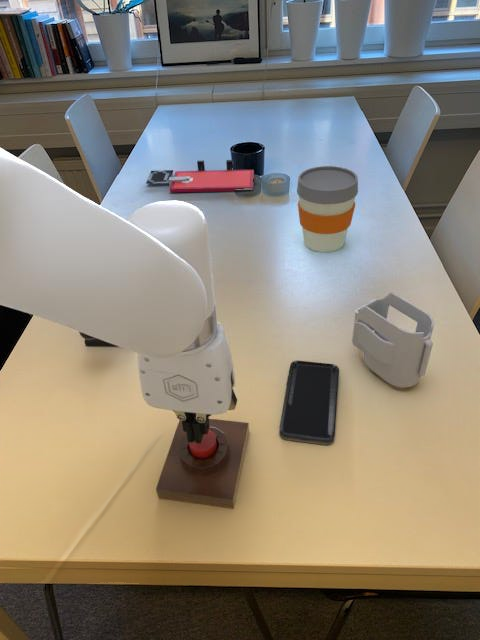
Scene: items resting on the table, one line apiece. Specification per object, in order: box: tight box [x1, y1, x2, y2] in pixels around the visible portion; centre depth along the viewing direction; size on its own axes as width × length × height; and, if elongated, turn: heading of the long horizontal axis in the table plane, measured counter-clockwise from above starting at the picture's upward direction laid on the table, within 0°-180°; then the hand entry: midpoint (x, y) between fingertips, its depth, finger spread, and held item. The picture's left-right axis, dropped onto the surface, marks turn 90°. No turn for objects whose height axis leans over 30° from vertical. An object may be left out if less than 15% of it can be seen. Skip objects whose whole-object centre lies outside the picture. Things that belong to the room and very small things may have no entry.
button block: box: [155, 418, 250, 510], centre depth 66 cm, size 12×10×4 cm
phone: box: [278, 360, 340, 446], centre depth 74 cm, size 8×1×15 cm
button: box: [189, 430, 217, 459], centre depth 64 cm, size 4×4×2 cm
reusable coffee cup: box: [296, 165, 359, 253], centre depth 105 cm, size 12×13×15 cm
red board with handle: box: [145, 159, 255, 193], centre depth 137 cm, size 30×3×15 cm
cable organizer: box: [351, 291, 435, 388], centre depth 75 cm, size 7×12×12 cm, turn 35°
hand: (197, 433), depth 62 cm, fingers closed
